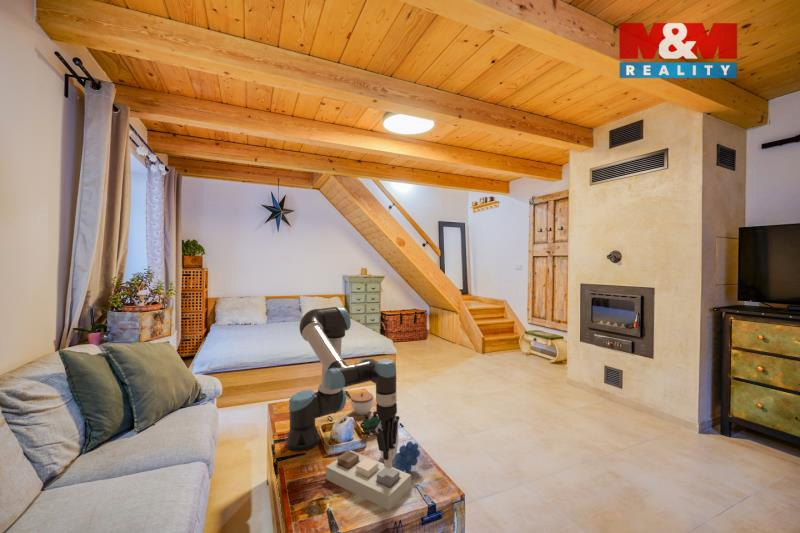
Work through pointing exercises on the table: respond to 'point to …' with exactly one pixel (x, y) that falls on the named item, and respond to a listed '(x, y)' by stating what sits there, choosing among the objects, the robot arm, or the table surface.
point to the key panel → (369, 483)
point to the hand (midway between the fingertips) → (388, 466)
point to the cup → (394, 451)
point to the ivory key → (367, 468)
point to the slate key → (388, 477)
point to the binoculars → (369, 423)
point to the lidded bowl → (362, 402)
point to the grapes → (407, 457)
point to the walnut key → (348, 460)
